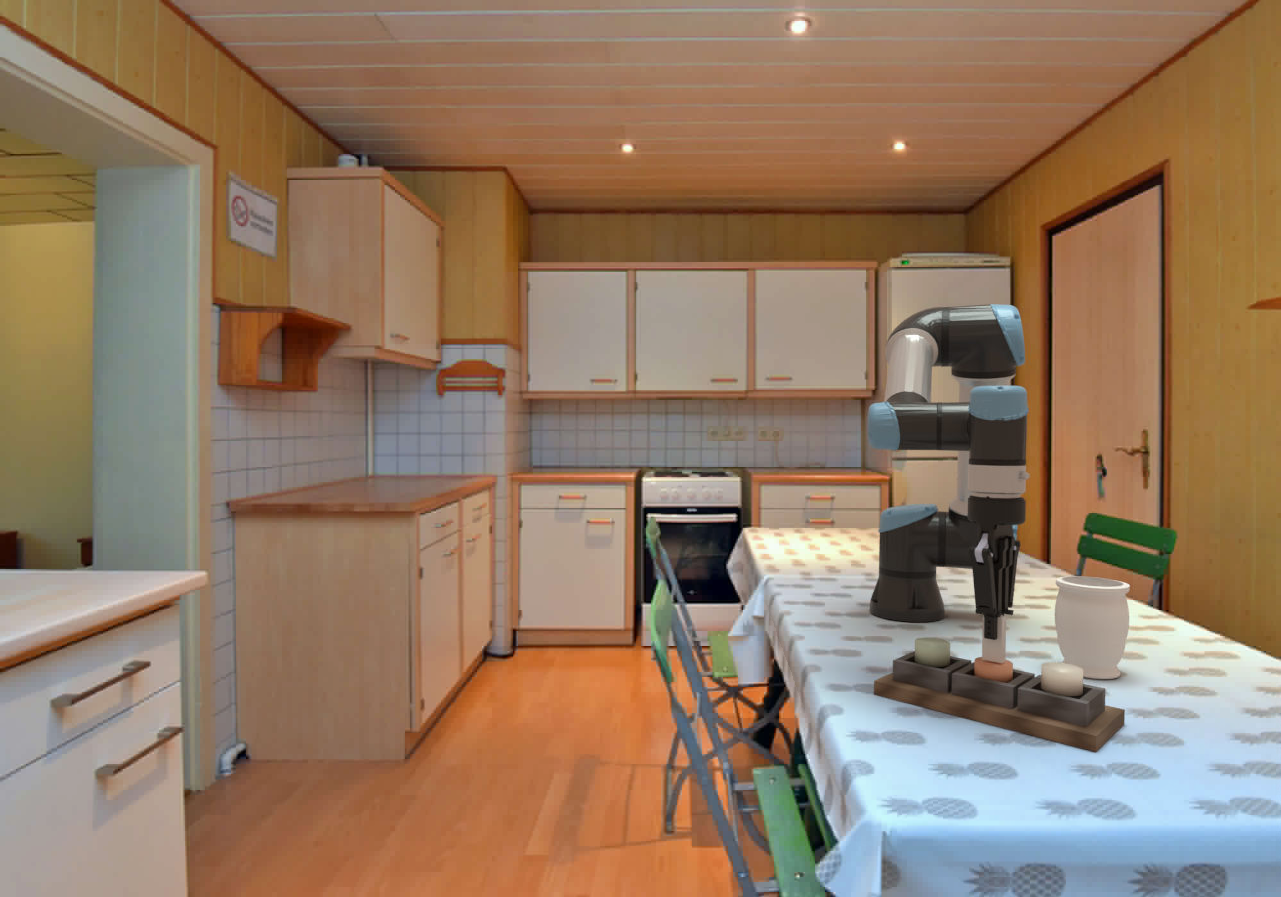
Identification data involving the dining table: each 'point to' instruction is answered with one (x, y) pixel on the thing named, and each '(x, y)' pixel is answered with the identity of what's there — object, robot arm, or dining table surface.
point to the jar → (1092, 624)
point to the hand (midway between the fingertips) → (993, 660)
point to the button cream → (1062, 679)
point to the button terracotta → (994, 670)
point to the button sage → (932, 652)
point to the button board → (1004, 701)
